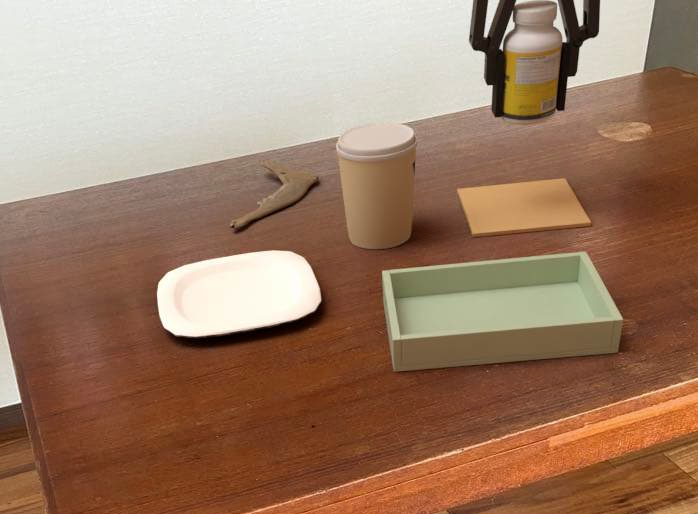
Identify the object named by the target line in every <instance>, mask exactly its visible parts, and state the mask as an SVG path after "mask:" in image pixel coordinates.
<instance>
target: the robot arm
mask: <svg viewBox="0 0 698 514" xmlns="http://www.w3.org/2000/svg"><path fill="white" fill-rule="evenodd" d="M582 3H583V4H582V25H580V24H579V23H580V22H579V19H578V13H577V10H576V5H575V0H557V5H558V9H559V13H560V17H561V22H562V26H563V30H564V34H565V35H564V37H565V40H566V41H562V50H561V60H560V70H559V80H558V90H557V102H556V111H557V112H562V111H564V112H565V110H566V99H567V88H568V78H570V77H571V78H573V77H576V75H577V73H578V67H579V60H580V49H581V47H582V46H583V44H584V42H586V41H588V40H590V39H595V38H596V37H598V36H599V33H600V17H601V16H600V15H601V0H582ZM516 4H517V0H499V1H498V3H497V6H496V9H495V12H494V15H493V18H492V21H491V24H490V26H489V29H488V33H487V35H486V36H485V29H486V22H487V14H488V6H489V0H472V8H471V18H470V26H469V33H468V43H469V45H470V46H471V48H472V50H473V51H474V52H481V53H484V66H483V67H484V68H483V79H484V82H485V84H486V86H492V91H491V109H490V110H491V113H492V114H493V117H494V118H495V119H496V118H501V117H502V102H503V84H504V67H505V54H504V53H503V49H502V48H501V45H502V44H503V41H504V38H505V34H506V31H507V29H508V26H509V23H510V20H511V17H512V15H513V9H514V6H515V5H516Z"/></svg>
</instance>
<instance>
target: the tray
mask: <svg viewBox="0 0 698 514" xmlns="http://www.w3.org/2000/svg"><path fill="white" fill-rule="evenodd" d="M597 270H598V269H596V267H595V265H594V263H593V261H592V259H591V258H590V256H589V254H588V251H575V252H566V253H565V252H563V253H555V254H546V255H545V254H544V255H534V256H533V255H532V256H523V257H512V258H502V259H491V260H479V261H469V262H459V263H449V264H437V265H427V266H416V267H407V268H405V267H404V268H395V269H387V270H382V272H381V280H382V281H381V282H382V302H383V303H382V304H383V309H384V317H385V322H386V330H387V337H388V342H389V349H390V356H391V362H392V370H393V373H397V372H408V371H409V372H410V371H420V370H421V371H422V370H432V369H443V368H445V369H446V368H456V367H467V366H478V365H490V364H501V363H514V362H523V361H524V362H525V361H537V360H548V359H549V360H550V359H559V358H561V359H563V358H571V357H572V358H573V357H584V356H595V355H606V354H607V355H608V354H618V353H619V348H620V343H621V337H622V331H623V325H624V318H623V316H622V314H621V312H620V310H619V309H618V307H617V305H616V303H615V301H614V299H613V297H612V296H611V294H610V291H608V289H607V287H606V285H605V283H604V281H603V280H602V277H601V276H600V274H599V272H598V271H597Z"/></svg>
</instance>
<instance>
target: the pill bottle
mask: <svg viewBox="0 0 698 514" xmlns="http://www.w3.org/2000/svg"><path fill="white" fill-rule="evenodd" d="M557 16H558V2H556V1H553V0H525V1H522V2H518V3H515V6H514V9H513V12H512V22H513V24H514V27H513V29H511V30H509V31H508V32H507V33H506V35H504V37H503V40H502V51H503V53H504V54H505V67H504V84H503V102H502V117H500V119H501V120H502V121H503V122H505V123H507V124H511V125H516V126H531V125H532V126H533V125H538V124H542V123H545V122H547V121H550V120H551V119H552V118H553V117H554V115H555V114H556V111H557V109H556V102H557V90H558V80H559V70H560V60H561V50H562V42H563V33H562V32H561V30H560V29H559V28H557V27H556V26H554V23H555V22H554V21H556V20H557Z"/></svg>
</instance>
